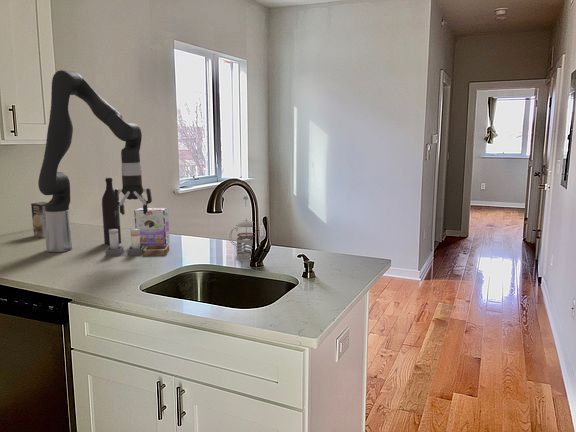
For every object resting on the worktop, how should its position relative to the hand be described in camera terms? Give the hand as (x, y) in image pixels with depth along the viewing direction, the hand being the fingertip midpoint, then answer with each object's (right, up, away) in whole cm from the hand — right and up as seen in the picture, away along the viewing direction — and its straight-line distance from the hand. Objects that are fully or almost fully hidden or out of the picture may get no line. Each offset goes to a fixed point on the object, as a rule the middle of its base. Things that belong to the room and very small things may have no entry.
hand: (134, 214), depth 200 cm
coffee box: (-57, -11, +42) cm, 71 cm away
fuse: (-8, -16, +2) cm, 18 cm away
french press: (+45, -18, -2) cm, 48 cm away
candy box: (+2, -14, +22) cm, 26 cm away
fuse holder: (-4, -17, +2) cm, 18 cm away
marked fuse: (0, -16, +3) cm, 16 cm away
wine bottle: (-16, -14, +22) cm, 31 cm away
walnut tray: (+8, -17, +4) cm, 19 cm away
